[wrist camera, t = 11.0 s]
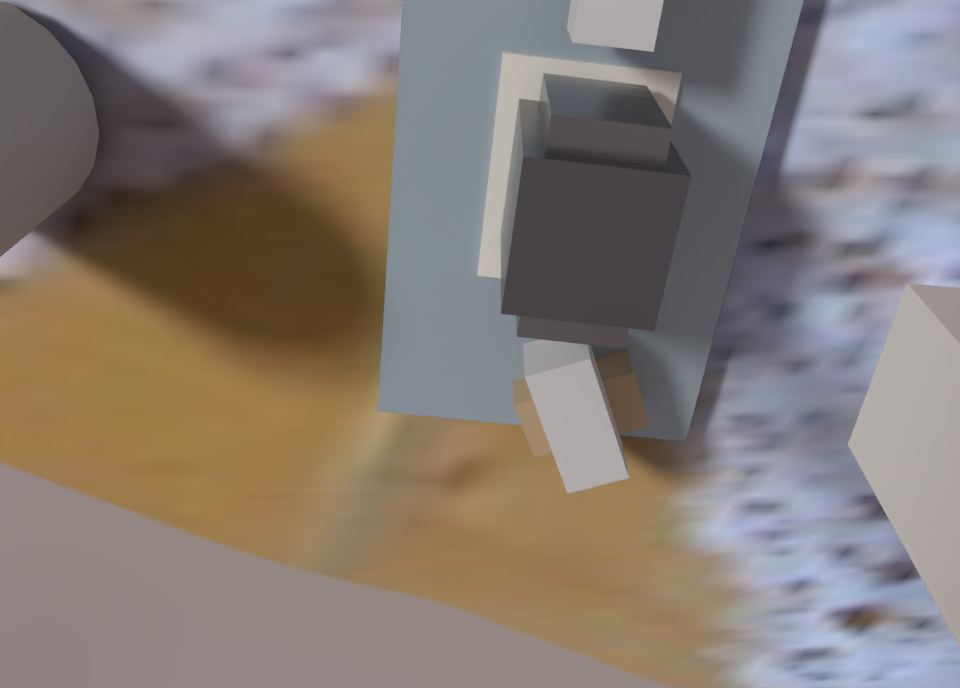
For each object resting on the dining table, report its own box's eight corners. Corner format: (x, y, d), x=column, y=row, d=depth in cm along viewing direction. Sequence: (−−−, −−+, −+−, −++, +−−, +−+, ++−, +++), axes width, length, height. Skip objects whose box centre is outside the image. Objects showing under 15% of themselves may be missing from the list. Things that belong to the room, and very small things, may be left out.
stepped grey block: (622, 274, 31) (647, 361, 26) (497, 260, 31) (496, 344, 26) (663, 83, 28) (700, 138, 23) (523, 66, 28) (529, 117, 23)
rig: (418, -191, 26) (400, -199, 21) (827, -141, 26) (894, -137, 22) (381, 399, 36) (363, 478, 31) (679, 428, 36) (704, 511, 32)
